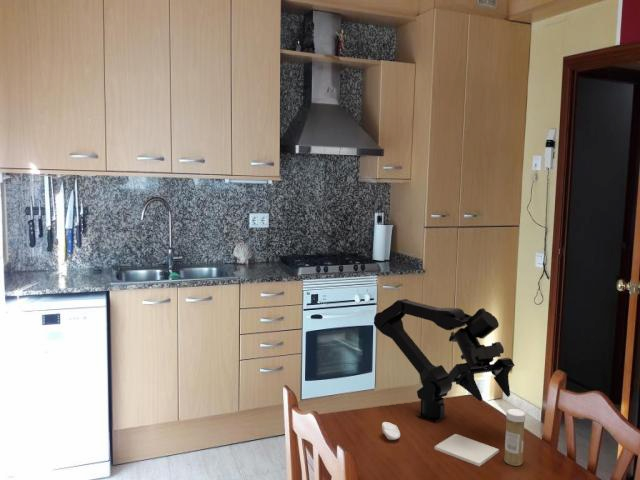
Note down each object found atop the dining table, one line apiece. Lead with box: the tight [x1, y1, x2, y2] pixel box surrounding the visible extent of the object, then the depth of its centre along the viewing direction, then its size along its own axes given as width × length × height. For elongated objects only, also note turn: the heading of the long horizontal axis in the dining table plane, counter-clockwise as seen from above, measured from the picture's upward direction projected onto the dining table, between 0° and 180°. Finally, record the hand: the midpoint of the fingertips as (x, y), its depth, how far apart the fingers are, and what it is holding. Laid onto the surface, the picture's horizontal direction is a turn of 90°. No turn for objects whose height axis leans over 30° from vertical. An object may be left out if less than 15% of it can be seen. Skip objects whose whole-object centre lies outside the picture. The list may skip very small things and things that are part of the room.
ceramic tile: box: [434, 433, 500, 468], centre depth 148 cm, size 13×11×1 cm
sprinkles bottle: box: [503, 408, 526, 467], centre depth 141 cm, size 5×5×14 cm
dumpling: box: [381, 421, 401, 441], centre depth 154 cm, size 7×5×4 cm
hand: (495, 398), depth 148 cm, fingers open, 9 cm apart
